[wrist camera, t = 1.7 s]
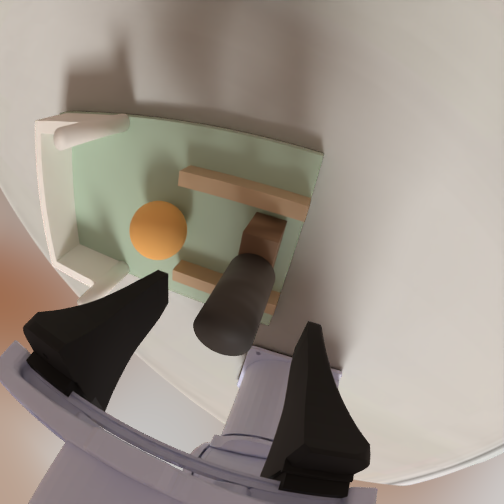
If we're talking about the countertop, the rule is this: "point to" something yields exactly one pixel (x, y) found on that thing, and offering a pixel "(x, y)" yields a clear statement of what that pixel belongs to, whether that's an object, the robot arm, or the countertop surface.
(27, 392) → the robot arm
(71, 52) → the countertop surface
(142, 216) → the ball
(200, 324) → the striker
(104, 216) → the pitch
